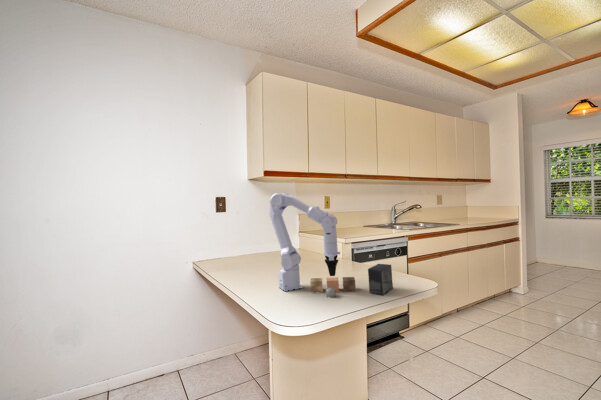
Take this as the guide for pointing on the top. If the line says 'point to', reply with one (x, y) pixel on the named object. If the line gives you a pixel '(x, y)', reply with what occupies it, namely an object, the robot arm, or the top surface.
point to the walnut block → (349, 284)
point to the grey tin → (330, 292)
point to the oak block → (316, 285)
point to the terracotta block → (333, 283)
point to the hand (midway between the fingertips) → (332, 273)
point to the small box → (380, 279)
